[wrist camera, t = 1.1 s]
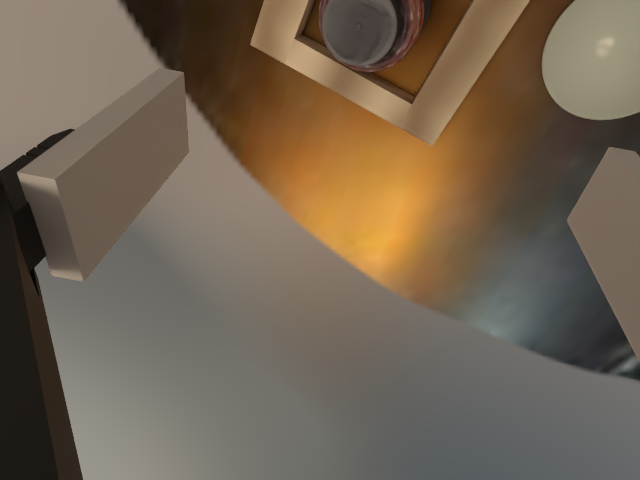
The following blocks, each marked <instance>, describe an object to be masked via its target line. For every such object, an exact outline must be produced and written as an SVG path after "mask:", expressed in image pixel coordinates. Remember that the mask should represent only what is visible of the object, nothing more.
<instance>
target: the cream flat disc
mask: <svg viewBox="0 0 640 480" xmlns="http://www.w3.org/2000/svg"><path fill="white" fill-rule="evenodd" d="M541 69H542V76H543V80H544V83H545V86H546V88H547V90H548V92H549V94H550V95H551V97H552V98H553V99H554V101H555V102H556V103H557V104H558V105H559V106H560V107H562V108H563V109H565V110H566V111H568V112H569V113H571V114H574V115H576V116H579V117H582V118H586V119H592V120H611V119H617V118H622V117H626V116H629V115H632V114H635V113H638V112H640V0H573V1H572V2H571V3H570V4H569V5H568V6H567V7H566V8H565V9H564V10H563V12H562V13H561V14H560V15H559V17H558V18H557V20H556V21H555V23H554V24H553V26H552V28H551V30H550V32H549V34H548V36H547V38H546V41H545V44H544V48H543V52H542V60H541Z"/></svg>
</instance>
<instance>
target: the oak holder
mask: <svg viewBox="0 0 640 480" xmlns="http://www.w3.org/2000/svg"><path fill="white" fill-rule="evenodd" d="M529 1H530V0H472V1H471V3H470V4H469V6H468V8H467V10H466V11H465V13H464V15H463V16H462V18H461V20H460V21H459V23H458V25H457V26H456V28H455V30H454V31H453V33H452V35H451V36H450V38H449V40H448V42H447V43H446V45H445V47H444V48H443V50H442V52H441V53H440V55H439V57H438V58H437V60H436V62H435V63H434V65H433V67H432V69H431V70H430V72H429V74H428V75H427V77H426V79H425V80H424V82H423V84H422V85H421V87H420V89H419V90H418V92H417V94H416V95H415V97H414V96H412V95H410V94H408V93H407V92H405V91H403V90H401V89H399V88H398V87H396V86H394V85H392V84H390V83H389V82H387V81H385V80H383V79H382V78H380V77H378V76H376V75H374V74H373V73H371V72H363V71H358V70H354V69H352V68H349V67H347V66H346V65H344V64H342V63H341V62H339V61H338V60H337V59H336V58H335V57H334V56H333V55H332V53H331V52H330V51H329V49H328V48H326V47H324V46H323V45H321V44H319V43H317V42H316V41H314V40H312V39H310V38H308V37H307V36H305V35H303V34H302V33H303V31H304V28H305V26H306V23H307V20H308V18H309V15H310V13H311V10H312V8H313V5H314V2H315V0H264V3H263V6H262V9H261V12H260V15H259V18H258V21H257V25H256V28H255V31H254V34H253V37H252V40H251V43H250V45H252V46H254V47H255V48H257V49H259V50H261V51H263V52H264V53H266V54H268V55H270V56H272V57H273V58H275V59H277V60H279V61H281V62H282V63H284V64H286V65H288V66H290V67H291V68H293V69H295V70H297V71H299V72H300V73H302V74H304V75H306V76H307V77H309V78H311V79H313V80H315V81H316V82H318V83H320V84H322V85H324V86H325V87H327V88H329V89H331V90H333V91H334V92H336V93H338V94H340V95H342V96H343V97H345V98H347V99H349V100H351V101H352V102H354V103H356V104H358V105H359V106H361V107H363V108H365V109H367V110H368V111H370V112H372V113H374V114H376V115H377V116H379V117H381V118H383V119H385V120H386V121H388V122H390V123H392V124H394V125H395V126H397V127H399V128H401V129H403V130H404V131H406V132H408V133H410V134H411V135H413V136H415V137H417V138H419V139H420V140H422V141H424V142H426V143H428V144H429V145H431V146H433V144H434V143H435V141H436V140H437V138H438V137H439V135H440V134H441V132H442V131H443V129H444V128H445V126H446V125H447V123H448V122H449V120H450V119H451V117H452V116H453V114H454V113H455V111H456V110H457V108H458V107H459V105H460V104H461V102H462V101H463V99H464V98H465V96H466V95H467V93H468V92H469V90H470V89H471V87H472V86H473V84H474V83H475V81H476V80H477V78H478V77H479V75H480V74H481V72H482V71H483V69H484V68H485V66H486V65H487V63H488V62H489V61H490V59H491V58H492V56H493V55H494V53H495V52H496V50H497V49H498V47H499V46H500V44H501V43H502V41H503V40H504V38H505V37H506V35H507V34H508V32H509V31H510V29H511V28H512V26H513V25H514V23H515V22H516V20H517V19H518V17H519V16H520V14H521V13H522V11H523V10H524V8H525V7H526V5H527V4H528V2H529Z"/></svg>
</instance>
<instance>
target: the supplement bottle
mask: <svg viewBox="0 0 640 480" xmlns="http://www.w3.org/2000/svg"><path fill="white" fill-rule="evenodd" d="M431 5H432V0H321V1H320V4H319V26H320V31H321V35H322V38H323V41H324V42H325V44H326V47H327V48H328V49H329V51H330V52H331V53H332V55H333V56H334V57H335V58H336V59H337V60H338V61H339V62H341V63H342V64H344V65H346V66H347V67H349V68H352V69H354V70H358V71H363V72H375V71H380V70H383V69H386V68H389V67H391V66H393V65H395V64H396V63H397V62H399V61H400V60H401V59H402V58H403V57H404V56H405V55H407V53H408V52H409V51H410V50H411V48H412V47H413V45H414V44H415V42H416V40H417V39H418V37H419V35H420V33H421V31H422V29H423V27H424V25H425V23H426V21H427V19H428V16H429V14H430V10H431Z"/></svg>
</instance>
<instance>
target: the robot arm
mask: <svg viewBox="0 0 640 480" xmlns="http://www.w3.org/2000/svg"><path fill="white" fill-rule="evenodd" d="M188 153H189V146H188V131H187V116H186V99H185V84H184V72H179V71H173V70H167V69H161V68H159V69H158V70H157V71H155V72H154V73H152V74H151V75H150V76H148V77H147V78H146V79H144V80H143V81H142V82H140V83H139V84H138V85H136V86H135V87H133V88H132V89H130V90H129V91H128V92H126V93H125V94H124V95H122V96H121V97H120V98H118V99H117V100H115V101H114V102H113V103H111V104H110V105H109V106H107V107H106V108H104V109H103V110H102V111H100V112H99V113H98V114H96V115H95V116H93V117H92V118H91V119H89V120H88V121H87V122H85V123H84V124H82V125H81V126H80V127H79V128H77V129H76V130H74V129H68V130H66V131H63V132H60V133H57V134H54V135H52V136H50V137H48V138H47V139H45V140H44V141H43V142H41V143H40V144H38V145H37V147H34V148H33V149H31V150H30V151H28V152H27V153H26V155H23V156H21V157H20V158H18V159H17V160H15V161H14V162H13V163H11V164H10V165H8V166H7V167H5V168H4V169H2V170H1V171H0V480H83V478H82V473H81V469H80V464H79V459H78V455H77V450H76V446H75V442H74V437H73V433H72V429H71V424H70V419H69V415H68V410H67V406H66V401H65V397H64V392H63V388H62V384H61V379H60V375H59V370H58V366H57V361H56V357H55V352H54V348H53V344H52V339H51V334H50V330H49V325H48V321H47V316H46V312H45V308H44V303H43V299H42V294H41V290H40V285H39V281H38V277H37V275H36V272H35V269H34V268H35V266H36V265H37V264H38V263H39V262H40V261H41V260H42V259H43V258H44V257H46V260H47V262H48V266H49V269H50V272H51V274H52V276H57V277H62V278H67V279H73V280H77V281H83V282H84V281H85V280H86V278H87V277H88V276H89V275H90V273H91V272H92V271H93V270H94V269H95V267H96V266H97V265H98V264H99V262H100V261H101V260H102V259H103V257H104V256H105V255H106V254H107V252H108V251H109V250H110V249H111V248H112V246H113V245H114V244H115V243H116V241H117V240H118V239H119V238H120V236H121V235H122V234H123V233H124V232H125V230H126V229H127V228H128V227H129V225H130V224H131V223H132V222H133V220H134V219H135V218H136V217H137V215H138V214H139V213H140V212H141V211H142V209H143V208H144V207H145V206H146V204H147V203H148V202H149V201H150V199H151V198H152V197H153V196H154V195H155V193H156V192H157V191H158V190H159V188H160V187H161V186H162V185H163V183H164V182H165V181H166V180H167V179H168V177H169V176H170V175H171V174H172V172H173V171H174V170H175V169H176V168H177V166H178V165H179V164H180V163H181V161H182V160H183V159H184V158H185V156H186V155H187V154H188ZM567 222H568V224H569V226H570V228H571V230H572V232H573V234H574V236H575V238H576V240H577V242H578V244H579V246H580V248H581V250H582V251H583V253H584V255H585V257H586V259H587V261H588V263H589V265H590V267H591V269H592V271H593V273H594V275H595V277H596V279H597V281H598V283H599V284H600V286H601V288H602V290H603V292H604V294H605V296H606V298H607V300H608V302H609V304H610V306H611V308H612V310H613V312H614V314H615V315H616V317H617V319H618V321H619V323H620V325H621V327H622V329H623V331H624V333H625V335H626V337H627V339H628V341H629V343H630V345H631V347H632V348H633V350H634V352H635V354H636V356H637V358H638V360H639V362H640V156H639V155H638V154H637V153H636V152H635V151H630V150H624V149H619V148H613V147H609V148H608V150H607V151H606V153H605V155H604V157H603V158H602V160H601V162H600V164H599V165H598V167H597V169H596V170H595V172H594V174H593V176H592V177H591V179H590V181H589V183H588V184H587V186H586V188H585V189H584V191H583V193H582V195H581V196H580V198H579V200H578V202H577V203H576V205H575V207H574V208H573V210H572V212H571V214H570V215H569V217H568V219H567Z"/></svg>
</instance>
